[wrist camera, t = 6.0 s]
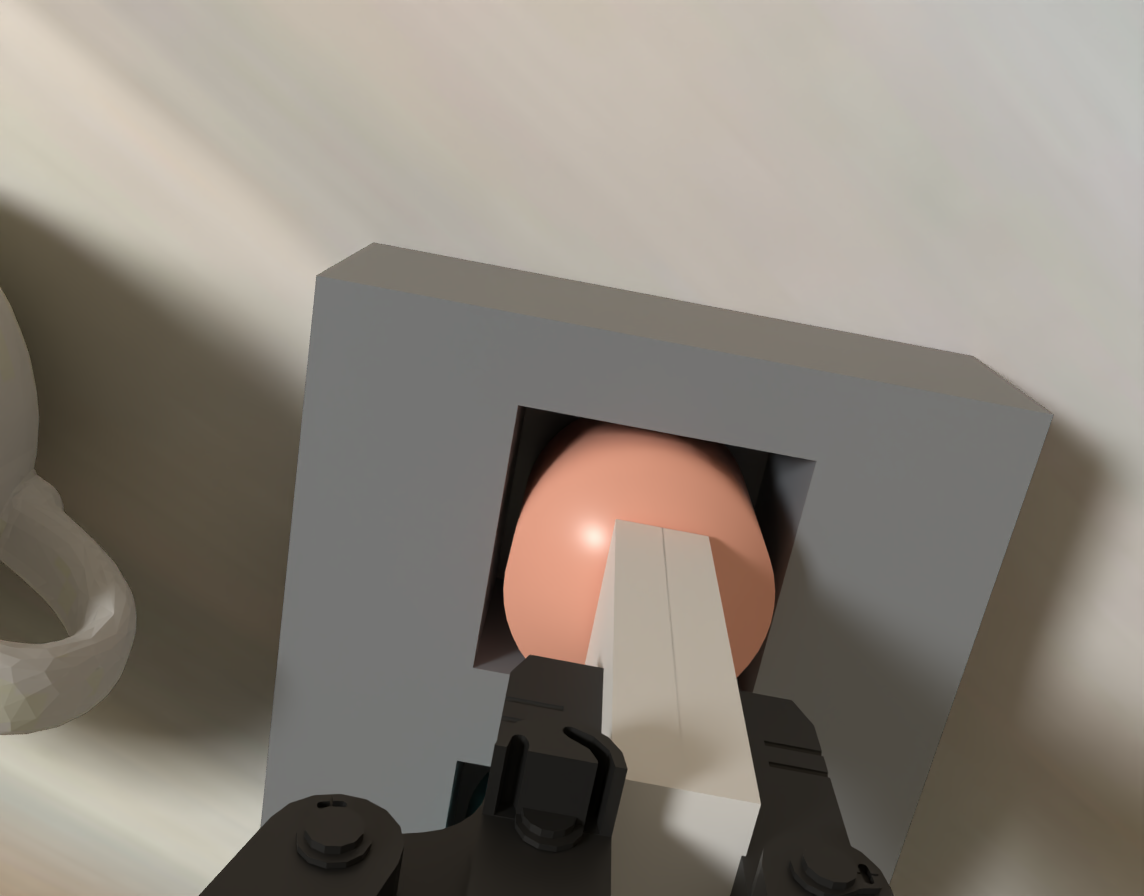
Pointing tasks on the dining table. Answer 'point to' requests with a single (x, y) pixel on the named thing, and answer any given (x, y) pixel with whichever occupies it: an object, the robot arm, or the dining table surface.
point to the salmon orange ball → (637, 494)
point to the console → (644, 400)
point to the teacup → (51, 571)
